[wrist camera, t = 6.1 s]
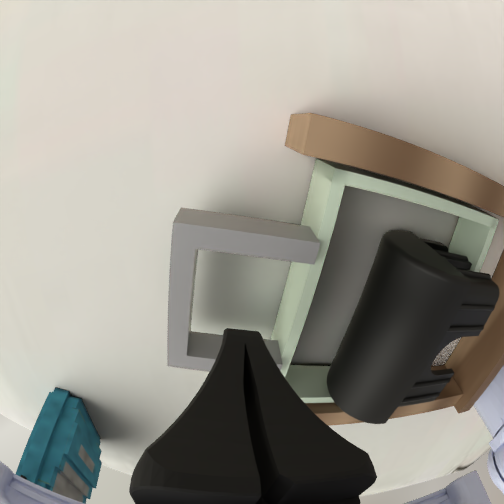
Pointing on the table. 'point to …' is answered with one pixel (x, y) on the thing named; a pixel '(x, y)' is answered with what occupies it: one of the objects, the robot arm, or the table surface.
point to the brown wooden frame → (438, 179)
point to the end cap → (407, 326)
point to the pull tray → (293, 263)
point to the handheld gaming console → (63, 448)
